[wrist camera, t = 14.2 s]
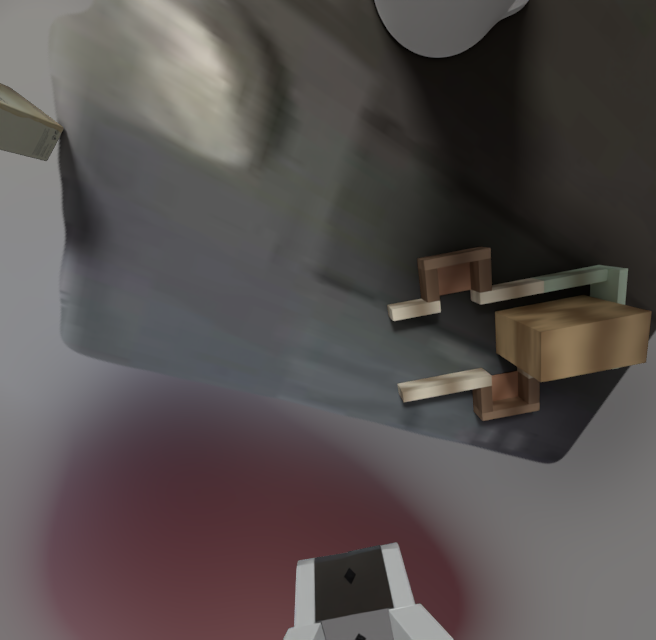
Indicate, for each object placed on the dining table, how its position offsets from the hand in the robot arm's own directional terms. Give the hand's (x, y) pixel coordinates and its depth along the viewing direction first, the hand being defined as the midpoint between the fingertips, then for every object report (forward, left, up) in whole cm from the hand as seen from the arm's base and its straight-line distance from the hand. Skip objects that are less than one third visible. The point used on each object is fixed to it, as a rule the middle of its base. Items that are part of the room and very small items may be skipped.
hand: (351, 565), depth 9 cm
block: (-3, +30, -33) cm, 45 cm away
